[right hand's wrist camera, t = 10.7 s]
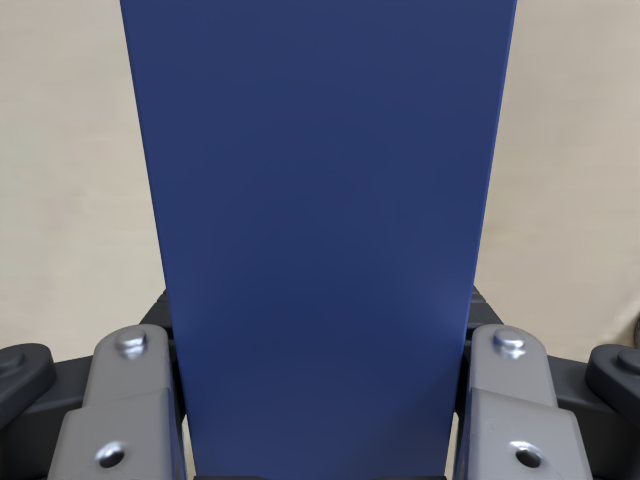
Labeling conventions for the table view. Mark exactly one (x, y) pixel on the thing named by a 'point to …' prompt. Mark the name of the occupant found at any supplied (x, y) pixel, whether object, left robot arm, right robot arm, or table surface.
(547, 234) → the table surface
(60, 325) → the table surface
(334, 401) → the bar
